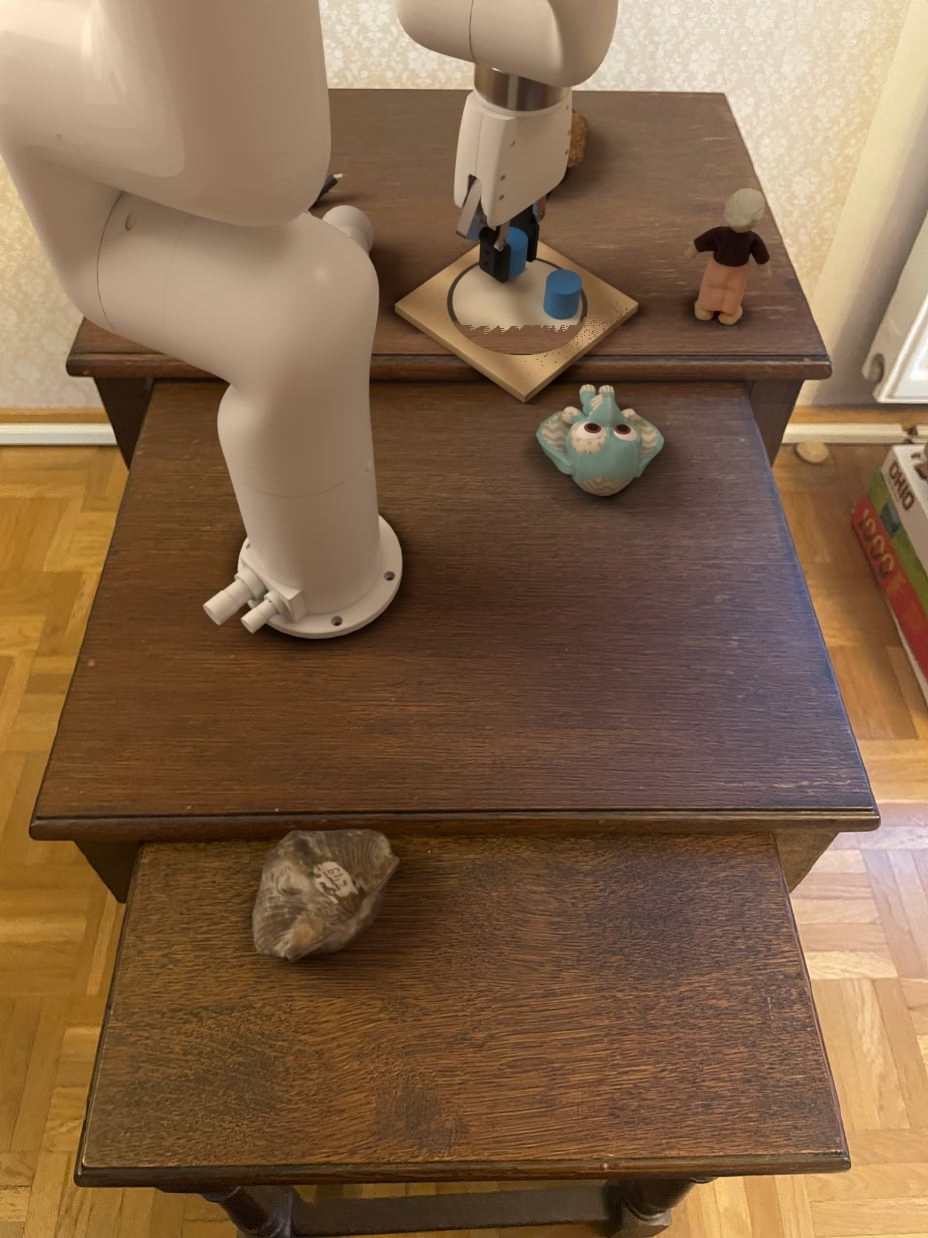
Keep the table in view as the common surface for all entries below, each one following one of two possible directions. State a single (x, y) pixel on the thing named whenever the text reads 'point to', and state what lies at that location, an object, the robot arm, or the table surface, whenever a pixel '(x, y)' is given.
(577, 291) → the eye peg
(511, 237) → the eye peg
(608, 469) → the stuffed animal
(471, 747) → the table surface
